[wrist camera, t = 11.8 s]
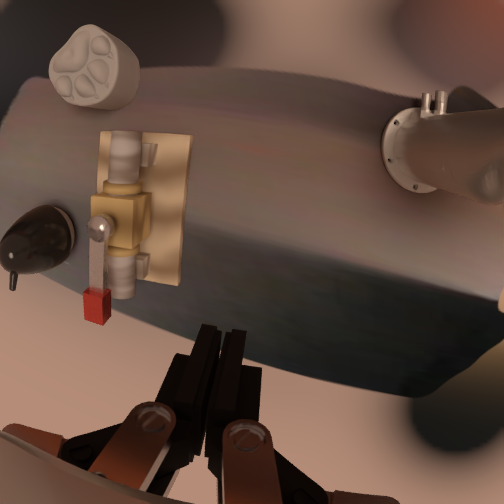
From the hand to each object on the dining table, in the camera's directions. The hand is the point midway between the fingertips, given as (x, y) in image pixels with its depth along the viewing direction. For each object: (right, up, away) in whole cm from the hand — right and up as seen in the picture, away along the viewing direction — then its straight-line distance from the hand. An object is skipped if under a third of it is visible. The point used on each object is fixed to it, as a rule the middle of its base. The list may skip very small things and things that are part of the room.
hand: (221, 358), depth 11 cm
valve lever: (-17, +2, +23) cm, 29 cm away
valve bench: (-15, +11, +32) cm, 37 cm away
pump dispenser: (-32, +8, +34) cm, 47 cm away
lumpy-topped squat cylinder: (-20, +31, +26) cm, 45 cm away
